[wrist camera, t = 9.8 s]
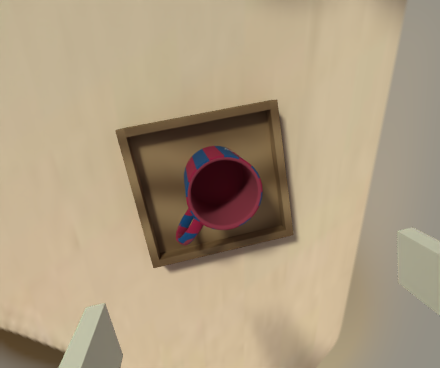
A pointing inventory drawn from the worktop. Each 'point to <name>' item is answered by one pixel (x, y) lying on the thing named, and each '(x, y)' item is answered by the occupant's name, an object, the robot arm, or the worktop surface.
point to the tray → (174, 177)
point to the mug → (218, 192)
